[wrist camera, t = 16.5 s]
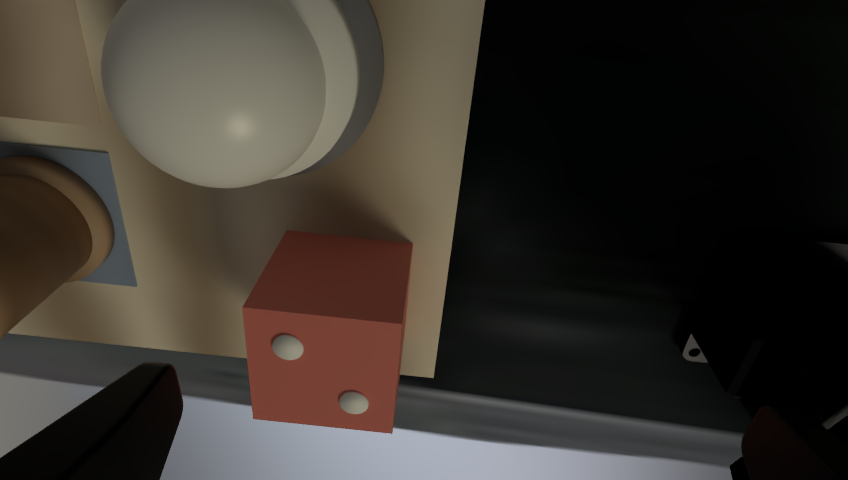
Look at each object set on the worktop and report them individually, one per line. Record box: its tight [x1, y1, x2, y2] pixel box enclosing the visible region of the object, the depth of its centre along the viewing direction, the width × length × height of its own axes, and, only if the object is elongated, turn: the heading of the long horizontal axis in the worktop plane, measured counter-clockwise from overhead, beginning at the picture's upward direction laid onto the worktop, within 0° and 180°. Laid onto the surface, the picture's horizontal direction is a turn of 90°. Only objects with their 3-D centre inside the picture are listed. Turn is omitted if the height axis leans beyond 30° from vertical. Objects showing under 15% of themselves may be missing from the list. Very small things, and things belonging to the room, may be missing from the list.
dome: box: [101, 0, 360, 188], centre depth 14 cm, size 7×7×6 cm
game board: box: [0, 0, 485, 378], centre depth 18 cm, size 20×25×2 cm
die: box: [242, 230, 413, 433], centre depth 20 cm, size 5×5×5 cm
